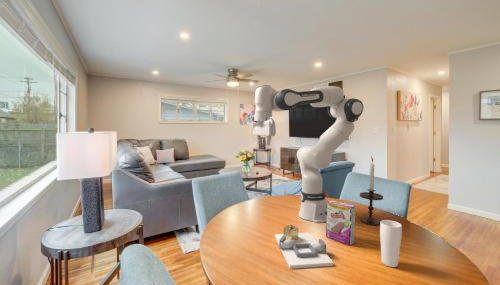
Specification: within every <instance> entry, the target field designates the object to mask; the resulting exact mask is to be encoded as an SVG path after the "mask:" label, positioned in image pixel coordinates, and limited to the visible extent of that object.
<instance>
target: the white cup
mask: <svg viewBox="0 0 500 285" xmlns="http://www.w3.org/2000/svg"><path fill="white" fill-rule="evenodd" d="M379 238H380V239H379V240H380V242H379V243H380V261H381V263H382V264H383V265H385V266H386V267H390V268H396V267H397V266H398V265H399V258H400V250H401V243H402V238H403V225H402V224H401V223H399V221H395V220H389V219H381V221H380V225H379Z"/></svg>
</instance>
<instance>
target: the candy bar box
mask: <svg viewBox="0 0 500 285" xmlns="http://www.w3.org/2000/svg"><path fill="white" fill-rule="evenodd" d="M356 207H357V206H356V205H353V204H349V203H347V202H346V203H345V202H341V201H338V200H333V199H330V200H328V202H327V217H326V222H325V223H326V225H325V238H328V239H330V240H333V241H336V242H339V243H341V244H343V245H347V246H349V247H350V246H352V245H353V244H354V243H355V237H356V235H355V234H356V232H355V231H356Z"/></svg>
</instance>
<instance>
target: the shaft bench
mask: <svg viewBox="0 0 500 285" xmlns="http://www.w3.org/2000/svg"><path fill="white" fill-rule="evenodd" d="M274 239H275V240H276V242H277V245H278V247H279V249H280V251H281V252H282V255H283V258H284V259H285V261H286V263H287V266H288V268H289V269H304V268H306V269H308V268H319V267H333V266H334V262H333V260H332V259H331V258H330V257H329V255H328V254H327V243H326V242H324V240H323V239H321V238H320V239H318V242H317V240H315V238H314V237H313V235H311V233H310V232H298V240H296V241H295V240H286V236H284V233H275V234H274Z"/></svg>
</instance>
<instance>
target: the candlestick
mask: <svg viewBox="0 0 500 285" xmlns="http://www.w3.org/2000/svg"><path fill="white" fill-rule="evenodd" d="M370 156H371V157H370V159H371V163H370V166H369V188H368V189H367V191H368V192H367V191H365V192H360V193H359V197H360V198H363V199H366V200H368V201H369V206H368V207H367V209H368V216H363V217H361V218H360V221H361V223H363V224H365V225H367V226H368V225H369V226H373V227H374V226H380V222H381V221H380V220H379V219H377V218H375V217H373V214H374V212H373V211H374V209H375V207H373V201H382V200H383V199H384V196H383V195H382V194H380V193H377V190H376V189H374V188H375V187H374V186H375V184H374V183H375V164H374V158H373V157H372V155H370Z"/></svg>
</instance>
